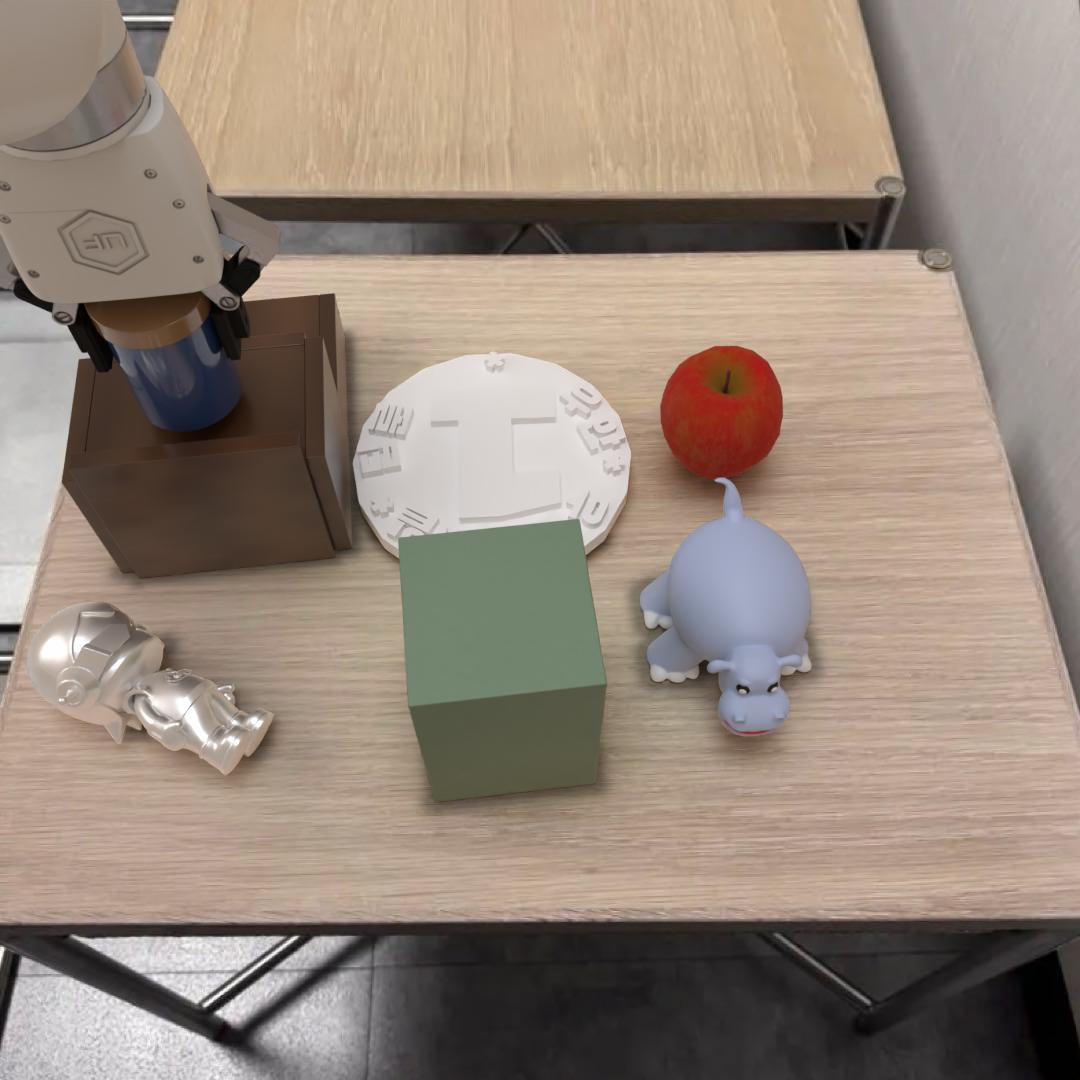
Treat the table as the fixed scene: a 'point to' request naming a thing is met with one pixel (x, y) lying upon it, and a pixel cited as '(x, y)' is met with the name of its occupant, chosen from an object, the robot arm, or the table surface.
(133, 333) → the jar
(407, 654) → the stand
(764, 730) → the hippopotamus toy
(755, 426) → the apple
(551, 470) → the white round plaque
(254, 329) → the wooden storage crate
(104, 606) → the figurine
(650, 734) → the table surface
